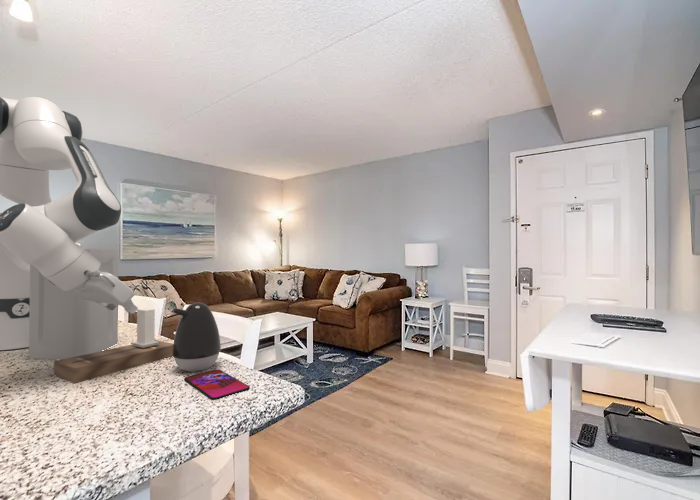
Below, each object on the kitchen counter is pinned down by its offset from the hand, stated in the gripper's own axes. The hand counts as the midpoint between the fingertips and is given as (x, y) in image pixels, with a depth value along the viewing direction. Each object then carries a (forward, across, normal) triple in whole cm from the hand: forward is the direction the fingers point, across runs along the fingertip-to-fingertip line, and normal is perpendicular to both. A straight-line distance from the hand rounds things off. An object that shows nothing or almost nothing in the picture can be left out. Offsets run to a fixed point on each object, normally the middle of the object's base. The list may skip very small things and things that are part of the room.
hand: (123, 309), depth 82 cm
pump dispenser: (+14, -19, +5) cm, 24 cm away
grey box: (+9, +20, +10) cm, 25 cm away
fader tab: (+10, 0, +3) cm, 11 cm away
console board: (+9, 0, +10) cm, 13 cm away
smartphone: (+11, -31, +8) cm, 34 cm away
